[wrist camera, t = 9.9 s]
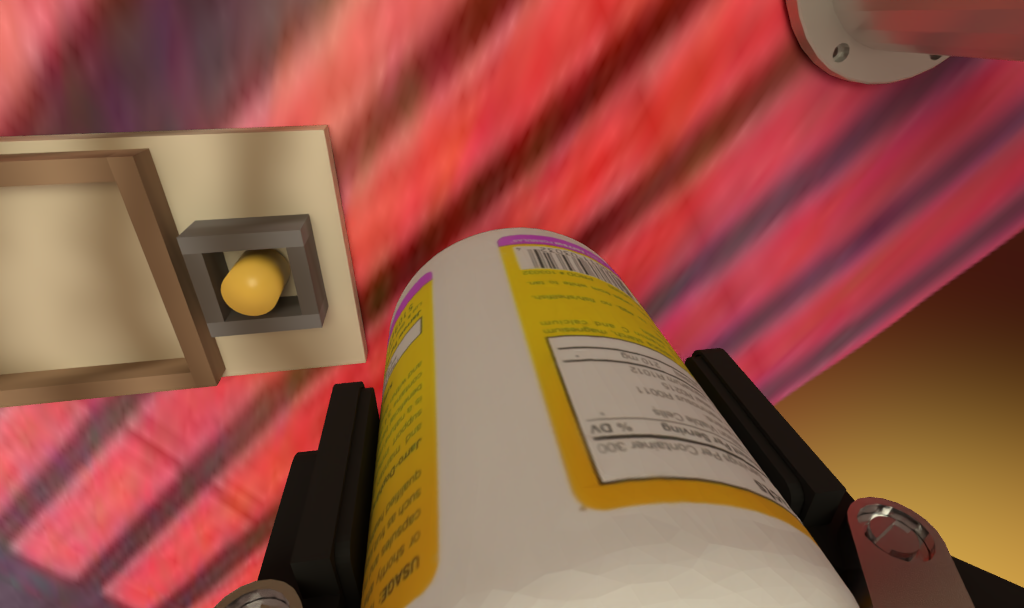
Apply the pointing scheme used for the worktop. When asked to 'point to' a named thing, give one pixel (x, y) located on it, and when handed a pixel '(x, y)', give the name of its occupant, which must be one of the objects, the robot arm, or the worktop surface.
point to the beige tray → (167, 260)
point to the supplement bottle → (564, 452)
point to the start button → (255, 282)
